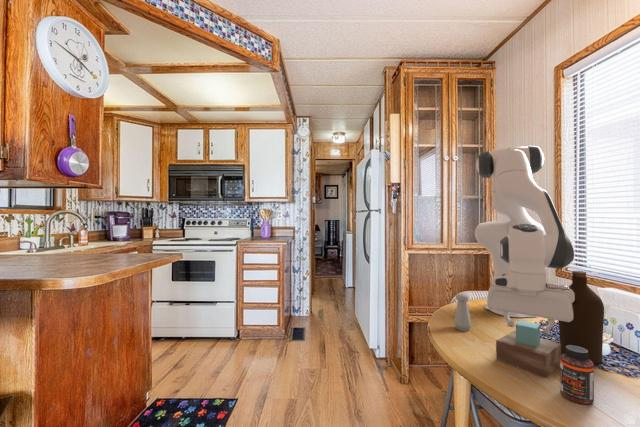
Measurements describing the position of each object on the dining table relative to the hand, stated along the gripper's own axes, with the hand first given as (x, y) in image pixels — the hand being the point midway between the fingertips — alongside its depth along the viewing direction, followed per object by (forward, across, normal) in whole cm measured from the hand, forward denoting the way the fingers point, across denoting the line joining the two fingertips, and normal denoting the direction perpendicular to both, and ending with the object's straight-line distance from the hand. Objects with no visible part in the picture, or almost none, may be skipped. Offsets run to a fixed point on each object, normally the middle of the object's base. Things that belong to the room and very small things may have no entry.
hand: (527, 329), depth 87 cm
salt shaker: (+9, +22, -14) cm, 28 cm away
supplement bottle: (+9, -11, +13) cm, 19 cm away
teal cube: (+3, 0, 0) cm, 3 cm away
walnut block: (+9, 0, 0) cm, 9 cm away
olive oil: (+9, -11, -14) cm, 20 cm away
